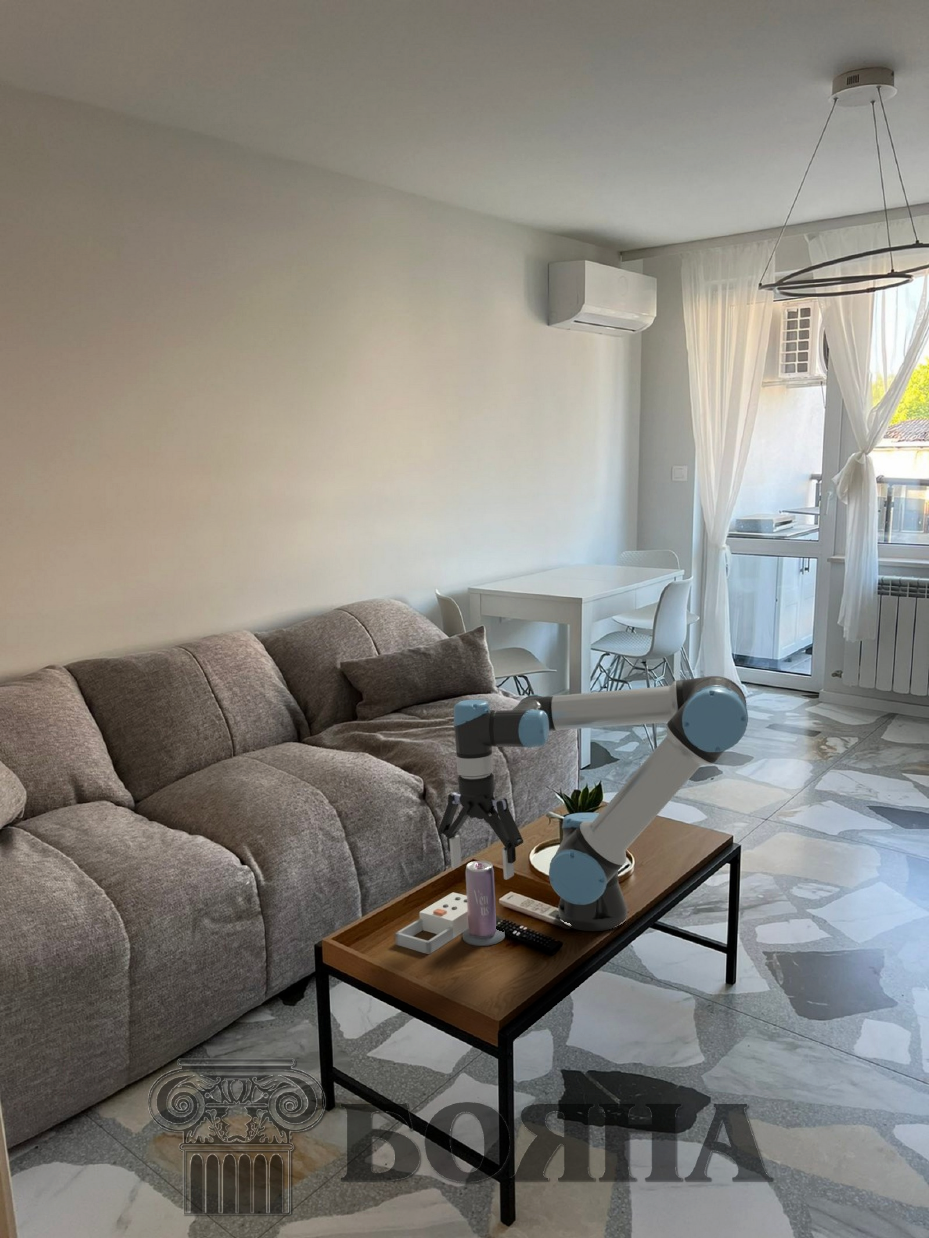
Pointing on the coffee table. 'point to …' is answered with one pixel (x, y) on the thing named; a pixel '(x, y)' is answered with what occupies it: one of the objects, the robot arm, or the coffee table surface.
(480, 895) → the beverage can
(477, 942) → the coaster
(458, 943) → the coffee table surface
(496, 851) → the coffee table surface
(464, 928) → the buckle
